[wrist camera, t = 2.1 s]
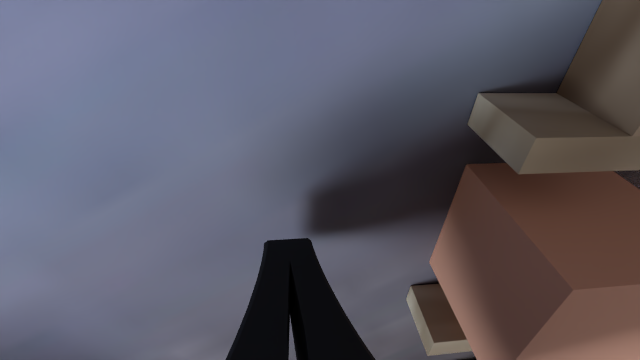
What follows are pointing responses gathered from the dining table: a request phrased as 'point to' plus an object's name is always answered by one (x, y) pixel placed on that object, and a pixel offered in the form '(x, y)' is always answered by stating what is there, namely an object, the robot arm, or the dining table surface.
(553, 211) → the block
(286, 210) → the dining table surface
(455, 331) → the trap lane
